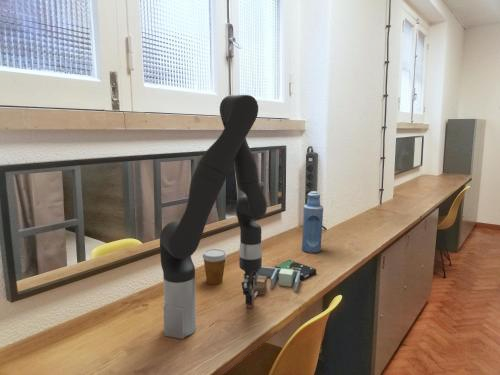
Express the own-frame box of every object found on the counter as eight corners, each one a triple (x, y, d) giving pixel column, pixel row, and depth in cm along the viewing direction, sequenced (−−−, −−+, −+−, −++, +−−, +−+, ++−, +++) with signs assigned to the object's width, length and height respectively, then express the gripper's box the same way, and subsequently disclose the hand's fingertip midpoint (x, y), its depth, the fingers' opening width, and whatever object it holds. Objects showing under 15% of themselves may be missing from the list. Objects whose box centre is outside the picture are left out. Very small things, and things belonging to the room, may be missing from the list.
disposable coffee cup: (229, 277, 146) (229, 249, 144) (221, 287, 137) (221, 258, 135) (208, 274, 148) (207, 247, 146) (198, 284, 139) (198, 255, 137)
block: (291, 286, 139) (291, 274, 138) (278, 285, 140) (279, 273, 139) (293, 281, 143) (293, 269, 143) (280, 280, 145) (281, 268, 144)
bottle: (319, 247, 184) (323, 190, 179) (321, 254, 174) (325, 194, 169) (301, 246, 185) (303, 189, 180) (302, 253, 175) (304, 193, 170)
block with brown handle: (255, 309, 121) (256, 287, 120) (241, 306, 123) (242, 285, 121) (266, 288, 136) (267, 269, 135) (254, 287, 138) (254, 267, 136)
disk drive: (316, 275, 151) (288, 265, 161) (316, 268, 151) (288, 259, 161) (302, 282, 144) (274, 271, 154) (302, 276, 143) (274, 265, 153)
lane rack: (296, 292, 134) (296, 282, 134) (247, 285, 139) (247, 275, 138) (299, 280, 145) (300, 270, 144) (254, 274, 149) (254, 265, 149)
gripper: (256, 263, 112) (255, 313, 115) (265, 248, 126) (264, 294, 129) (233, 260, 114) (233, 310, 117) (245, 246, 127) (245, 291, 131)
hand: (250, 301), depth 123 cm, fingers closed on block with brown handle, 2 cm apart
